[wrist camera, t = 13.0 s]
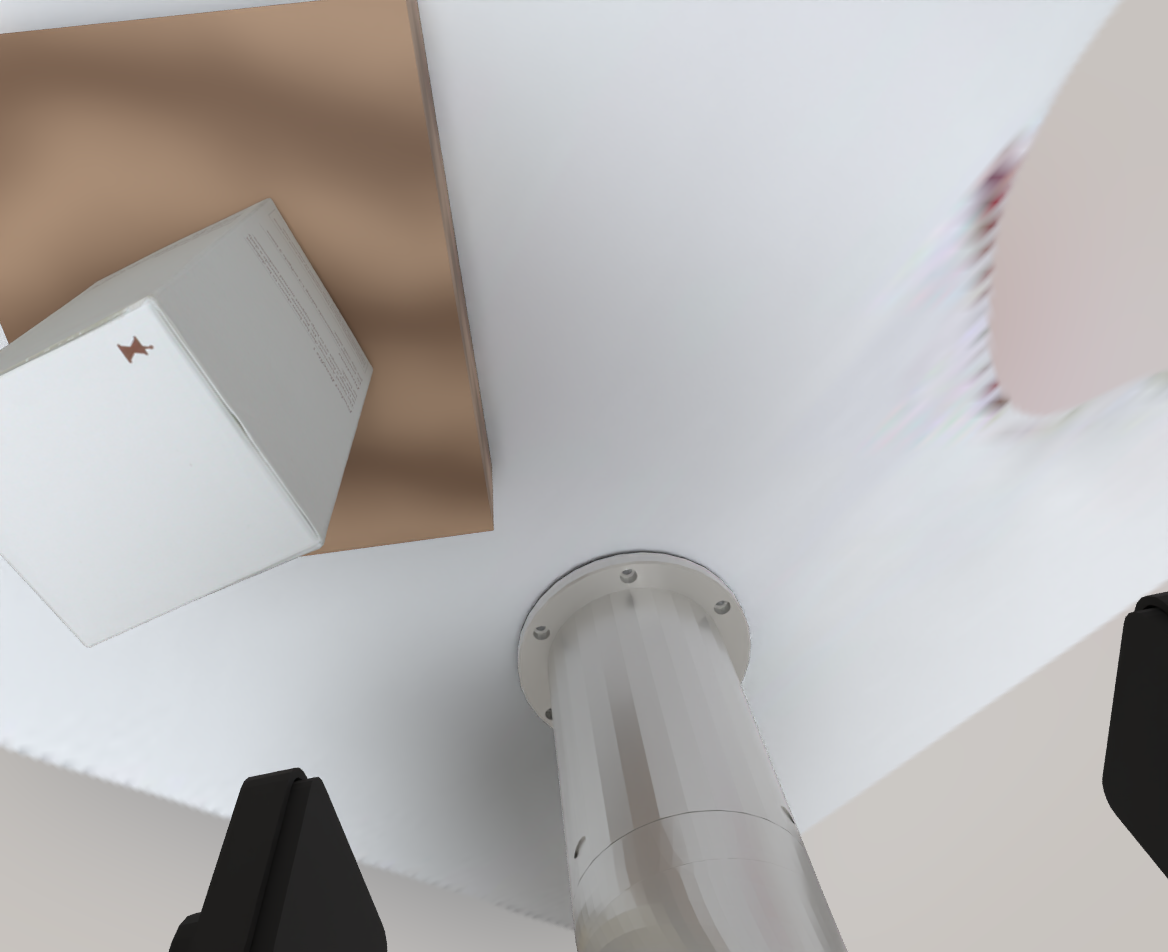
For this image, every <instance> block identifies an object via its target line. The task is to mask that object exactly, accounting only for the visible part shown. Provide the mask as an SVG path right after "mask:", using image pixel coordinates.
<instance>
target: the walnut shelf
mask: <svg viewBox="0 0 1168 952" xmlns="http://www.w3.org/2000/svg"><path fill="white" fill-rule="evenodd" d="M267 198H271V199H272V200H273V202H274V204H275V206H276V207H277V209H278V211H279V212H280V214H281V216H282V217H283V219H284V221H285V222H286V224H287V226H288V227H289V229H290V231H291V232H292V234H293V236H294V237H295V239H296V240H297V242H298V244H299V245H300V247H301V249H302V250H303V252H304V254H305V255H306V257H307V259H308V260H309V262H310V264H311V265H312V267H313V269H314V270H315V272H316V274H317V275H318V277H319V279H320V280H321V282H322V283H323V285H324V287H325V288H326V290H327V292H328V293H329V295H330V297H331V298H332V300H333V302H334V303H335V305H336V307H337V308H338V310H339V312H340V313H341V315H342V317H343V318H344V320H345V322H346V323H347V325H348V327H349V328H350V330H351V332H352V333H353V335H354V337H355V338H356V340H357V342H358V344H359V345H360V347H361V349H362V351H363V352H364V354H365V356H366V358H367V359H368V361H369V363H370V364H371V366H372V368H373V373H372V376H371V380H370V383H369V387H368V390H367V394H366V397H365V401H364V404H363V408H362V411H361V415H360V418H359V421H358V425H357V429H356V432H355V436H354V439H353V442H352V446H351V449H350V453H349V456H348V460H347V463H346V467H345V470H344V473H343V477H342V480H341V484H340V487H339V491H338V494H337V498H336V501H335V505H334V508H333V512H332V515H331V519H330V522H329V526H328V530H327V534H326V538H325V542H324V545H323V546H322V547H321V548H319V549H317V550H315V551H312V552H310V553H307V554H305V555H302V556H308V555H315V554H323V553H330V552H338V551H345V550H352V549H360V548H367V547H374V546H382V545H389V544H397V543H404V542H411V541H419V540H426V539H434V538H441V537H448V536H456V535H463V534H471V533H478V532H485V531H493V530H494V524H493V485H492V464H491V458H490V452H489V445H488V439H487V433H486V427H485V420H484V414H483V408H482V402H481V396H480V389H479V383H478V377H477V371H476V364H475V358H474V352H473V346H472V340H471V333H470V327H469V321H468V315H467V308H466V302H465V296H464V290H463V284H462V277H461V271H460V265H459V259H458V252H457V246H456V240H455V234H454V227H453V221H452V215H451V209H450V203H449V196H448V190H447V184H446V178H445V171H444V165H443V159H442V153H441V147H440V140H439V134H438V128H437V122H436V115H435V109H434V103H433V97H432V90H431V84H430V78H429V72H428V66H427V59H426V53H425V47H424V41H423V34H422V28H421V22H420V16H419V10H418V3H417V0H320V1H310V2H301V3H291V4H281V5H272V6H262V7H253V8H243V9H234V10H224V11H215V12H205V13H196V14H186V15H177V16H167V17H158V18H148V19H139V20H129V21H120V22H110V23H101V24H91V25H82V26H72V27H63V28H53V29H43V30H34V31H24V32H15V33H5V34H0V323H1V326H2V328H3V331H4V333H5V336H6V338H7V340H8V343H9V344H10V343H12V342H13V341H15V340H16V339H17V338H19V337H20V336H22V335H23V334H24V333H26V332H27V331H29V330H30V329H32V328H33V327H34V326H36V325H37V324H39V323H40V322H41V321H43V320H44V319H46V318H47V317H48V316H50V315H51V314H53V313H54V312H56V311H57V310H59V309H60V308H61V307H63V306H64V305H66V304H67V303H68V302H70V301H71V300H73V299H74V298H75V297H77V296H78V295H80V294H81V293H82V292H84V291H85V290H86V289H88V288H89V287H90V286H92V285H93V284H94V283H96V282H98V281H99V280H101V279H103V278H105V277H107V276H109V275H111V274H113V273H115V272H117V271H119V270H121V269H123V268H125V267H127V266H129V265H131V264H133V263H135V262H137V261H138V260H140V259H142V258H144V257H146V256H148V255H150V254H152V253H154V252H156V251H158V250H160V249H162V248H164V247H166V246H168V245H170V244H172V243H174V242H176V241H178V240H180V239H182V238H185V237H187V236H189V235H191V234H193V233H195V232H197V231H199V230H202V229H204V228H206V227H208V226H210V225H212V224H214V223H216V222H218V221H221V220H223V219H225V218H227V217H229V216H231V215H233V214H235V213H237V212H239V211H242V210H244V209H246V208H248V207H250V206H252V205H254V204H256V203H258V202H260V201H263V200H265V199H267ZM300 557H301V556H300Z"/></svg>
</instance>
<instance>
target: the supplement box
mask: <svg viewBox="0 0 1168 952" xmlns="http://www.w3.org/2000/svg"><path fill="white" fill-rule="evenodd" d="M372 373H373V368H372V366H371V364H370V363H369V361H368V359H367V358H366V356H365V354H364V352H363V351H362V349H361V347H360V345H359V344H358V342H357V340H356V338H355V337H354V335H353V333H352V332H351V330H350V328H349V327H348V325H347V323H346V322H345V320H344V318H343V317H342V315H341V313H340V312H339V310H338V308H337V307H336V305H335V303H334V302H333V300H332V298H331V297H330V295H329V293H328V292H327V290H326V288H325V287H324V285H323V283H322V282H321V280H320V279H319V277H318V275H317V274H316V272H315V270H314V269H313V267H312V265H311V264H310V262H309V260H308V259H307V257H306V255H305V254H304V252H303V250H302V249H301V247H300V245H299V244H298V242H297V240H296V239H295V237H294V236H293V234H292V232H291V231H290V229H289V227H288V226H287V224H286V222H285V221H284V219H283V217H282V216H281V214H280V212H279V211H278V209H277V207H276V206H275V204H274V202H273V200H272V199H271V198H267V199H265V200H263V201H260V202H258V203H256V204H254V205H252V206H250V207H248V208H246V209H244V210H242V211H239V212H237V213H235V214H233V215H231V216H229V217H227V218H225V219H223V220H221V221H218V222H216V223H214V224H212V225H210V226H208V227H206V228H204V229H202V230H199V231H197V232H195V233H193V234H191V235H189V236H187V237H185V238H182V239H180V240H178V241H176V242H174V243H172V244H170V245H168V246H166V247H164V248H162V249H160V250H158V251H156V252H154V253H152V254H150V255H148V256H146V257H144V258H142V259H140V260H138V261H137V262H135V263H133V264H131V265H129V266H127V267H125V268H123V269H121V270H119V271H117V272H115V273H113V274H111V275H109V276H107V277H105V278H103V279H101V280H99V281H98V282H96V283H94V284H93V285H92V286H90V287H89V288H88V289H86V290H85V291H84V292H82V293H81V294H80V295H78V296H77V297H75V298H74V299H73V300H71V301H70V302H68V303H67V304H66V305H64V306H63V307H61V308H60V309H59V310H57V311H56V312H54V313H53V314H51V315H50V316H48V317H47V318H46V319H44V320H43V321H41V322H40V323H39V324H37V325H36V326H34V327H33V328H32V329H30V330H29V331H27V332H26V333H24V334H23V335H22V336H20V337H19V338H17V339H16V340H15V341H13V342H12V343H10V344H9V345H7V346H6V347H4V348H3V349H1V350H0V555H1V556H2V557H3V558H4V559H5V560H6V561H7V562H8V564H9V565H10V566H11V567H12V568H13V569H14V570H15V571H16V572H17V573H18V574H19V575H20V576H21V577H22V579H23V580H24V581H25V582H26V583H27V584H28V585H29V586H30V587H31V588H32V589H33V590H34V591H35V592H36V594H37V595H38V596H39V597H40V598H41V599H42V600H43V601H44V602H45V603H46V604H47V606H48V607H49V608H50V609H51V610H52V611H53V612H54V613H55V614H56V615H57V616H58V617H59V619H60V620H61V621H62V622H63V623H64V624H65V625H66V626H67V627H68V628H69V629H70V630H71V631H72V632H73V634H74V635H75V636H76V637H77V638H78V639H79V640H80V641H81V642H82V644H83V645H85V646H86V647H89V648H91V647H93V646H95V645H97V644H99V643H101V642H103V641H105V640H108V639H110V638H112V637H114V636H117V635H119V634H121V633H123V632H126V631H128V630H130V629H132V628H134V627H137V626H139V625H141V624H143V623H146V622H148V621H150V620H152V619H154V618H157V617H159V616H161V615H163V614H166V613H168V612H170V611H172V610H175V609H177V608H179V607H181V606H183V605H186V604H188V603H190V602H192V601H195V600H197V599H199V598H202V597H204V596H207V595H209V594H212V593H214V592H216V591H219V590H221V589H224V588H226V587H228V586H231V585H233V584H235V583H238V582H240V581H243V580H245V579H247V578H250V577H252V576H255V575H257V574H260V573H262V572H264V571H267V570H269V569H272V568H274V567H276V566H279V565H281V564H283V563H286V562H288V561H290V560H293V559H295V558H298V557H300V556H302V555H305V554H307V553H310V552H312V551H315V550H317V549H319V548H321V547H322V546H323V545H324V542H325V538H326V534H327V530H328V526H329V522H330V519H331V515H332V512H333V508H334V505H335V501H336V498H337V494H338V491H339V487H340V484H341V480H342V477H343V473H344V470H345V467H346V463H347V460H348V456H349V453H350V449H351V446H352V442H353V439H354V436H355V432H356V429H357V425H358V421H359V418H360V415H361V411H362V408H363V404H364V401H365V397H366V394H367V390H368V387H369V383H370V380H371V376H372Z"/></svg>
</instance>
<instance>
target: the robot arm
mask: <svg viewBox="0 0 1168 952" xmlns="http://www.w3.org/2000/svg"><path fill="white" fill-rule="evenodd" d="M626 569H628V570H626ZM750 649H751V640H750V633H749V626H748V623H747V621H746V618H745V616H744V613H743V610H742V608H741V606H740V605H739V603H738V601H737V599H736V597H735V595H734V593H733V592H732V591H731V590H730V589H729V588H728V587H727V585H726V584H725V583H724V582H723V581H722V580H721V579H720V578H719V577H717V576H716V575H714V574H713V573H712V572H710V571H709V570H708V569H706V568H705V567H702V566H700V565H698V564H696V563H694V562H691V561H689V560H687V559H684V558H680V557H675V556H671V555H667V554H659V553H645V552H641V553H630V554H620V555H616V556H612V557H608V558H604V559H600V560H597V561H594V562H592V563H590V564H588V565H585V566H583V567H581V568H579V569H576V570H574V571H573V572H571V573H570V574H568V575H567V576H565V577H564V578H562V579H561V580H559V581H558V582H556V583H555V584H554V585H553V586H552V587H551V588H550V589H549V590H548V591H547V592H546V593H545V594H544V595H543V596H542V597H541V598H540V599H539V601H538V602H537V603H536V605H535V606H534V608H533V609H532V610H531V612H530V613H529V615H528V617H527V619H526V622H525V624H524V626H523V629H522V631H521V635H520V640H519V645H518V672H519V678H520V684H521V688H522V690H523V692H524V695H525V697H526V699H527V702H528V703H529V705H530V706H531V707H532V709H533V710H534V712H535V713H536V714H537V716H538V717H539V718H540V719H541V720H543V721H544V722H545V723H546V724H547V725H548V726H549V727H551V728H552V729H553V730H554V739H555V748H556V758H557V768H558V777H559V787H560V797H561V806H562V816H563V826H564V835H565V845H566V854H567V864H568V874H569V883H570V893H571V903H572V912H573V921H574V930H575V939H576V946H577V951H578V952H848V951H847V949H846V947H845V944H844V942H843V940H842V938H841V935H840V932H839V930H838V928H837V925H836V923H835V921H834V918H833V916H832V914H831V911H830V909H829V907H828V904H827V902H826V899H825V897H824V894H823V891H822V889H821V887H820V884H819V882H818V879H817V877H816V874H815V871H814V869H813V866H812V864H811V861H810V859H809V856H808V854H807V851H806V849H805V846H804V844H803V841H802V839H801V836H800V834H799V831H798V828H797V826H796V823H795V821H794V818H793V816H792V813H791V811H790V808H789V806H788V803H787V801H786V798H785V796H784V793H783V791H782V788H781V785H780V783H779V780H778V778H777V775H776V773H775V770H774V768H773V765H772V763H771V760H770V758H769V755H768V753H767V750H766V748H765V745H764V742H763V740H762V737H761V735H760V732H759V730H758V727H757V725H756V722H755V720H754V717H753V715H752V712H751V710H750V707H749V705H748V702H747V699H746V697H745V694H744V692H743V689H742V687H741V682H742V681H743V679H744V676H745V673H746V670H747V667H748V664H749V658H750ZM1102 780H1103V781H1102V784H1103V789H1104V793H1105V796H1106V799H1107V801H1108V803H1109V805H1110V807H1111V808H1112V810H1113V811H1114V813H1115V814H1116V815H1117V817H1118V818H1119V819H1120V820H1121V822H1122V823H1123V824H1124V825H1125V826H1126V828H1127V829H1128V830H1129V831H1130V833H1131V834H1132V835H1133V836H1134V838H1135V839H1136V840H1137V841H1138V842H1139V844H1140V845H1141V846H1142V847H1143V849H1144V850H1145V851H1146V852H1147V853H1148V855H1149V856H1150V857H1151V858H1152V860H1153V861H1154V862H1155V863H1156V864H1157V866H1158V867H1159V868H1160V870H1161V871H1162V872H1163V873H1164V874H1165V876H1166V877H1167V878H1168V592H1164V593H1159V594H1154V595H1149V596H1145V597H1142V598H1141V599H1140V600H1139V601H1138V602H1137V604H1136V607H1135V611H1134V612H1131V613H1129V614H1128V615H1127V616H1126V618H1125V621H1124V626H1123V633H1122V640H1121V648H1120V655H1119V662H1118V670H1117V677H1116V684H1115V691H1114V698H1113V705H1112V713H1111V720H1110V727H1109V734H1108V741H1107V749H1106V756H1105V763H1104V770H1103V778H1102ZM169 952H387V941H386V936H385V931H384V928H383V925H382V922H381V920H380V918H379V916H378V913H377V910H376V908H375V906H374V903H373V901H372V899H371V896H370V894H369V891H368V889H367V886H366V884H365V882H364V879H363V877H362V874H361V872H360V869H359V867H358V865H357V862H356V860H355V857H354V855H353V853H352V850H351V848H350V845H349V843H348V841H347V838H346V836H345V833H344V831H343V829H342V826H341V824H340V821H339V819H338V817H337V814H336V812H335V810H334V807H333V805H332V802H331V800H330V798H329V795H328V793H327V790H326V788H325V786H324V784H323V782H322V780H321V779H320V778H319V777H314V778H309V779H307V777H306V775H305V773H304V771H302V770H301V769H300V768H292V769H287V770H282V771H277V772H273V773H268V774H263V775H258V776H253V777H248V778H247V779H246V780H245V781H244V783H243V785H242V787H241V789H240V793H239V796H238V799H237V802H236V805H235V808H234V811H233V814H232V817H231V821H230V824H229V827H228V830H227V833H226V836H225V839H224V842H223V845H222V849H221V852H220V855H219V858H218V861H217V864H216V867H215V870H214V873H213V877H212V880H211V883H210V886H209V889H208V892H207V896H206V899H205V902H204V905H203V908H202V911H201V912H200V913H195V914H192V915H190V916H187V917H186V919H185V920H184V921H183V922H182V923H181V924H180V925H179V927H178V930H177V932H176V934H175V936H174V938H173V941H172V943H171V946H170V949H169Z"/></svg>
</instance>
